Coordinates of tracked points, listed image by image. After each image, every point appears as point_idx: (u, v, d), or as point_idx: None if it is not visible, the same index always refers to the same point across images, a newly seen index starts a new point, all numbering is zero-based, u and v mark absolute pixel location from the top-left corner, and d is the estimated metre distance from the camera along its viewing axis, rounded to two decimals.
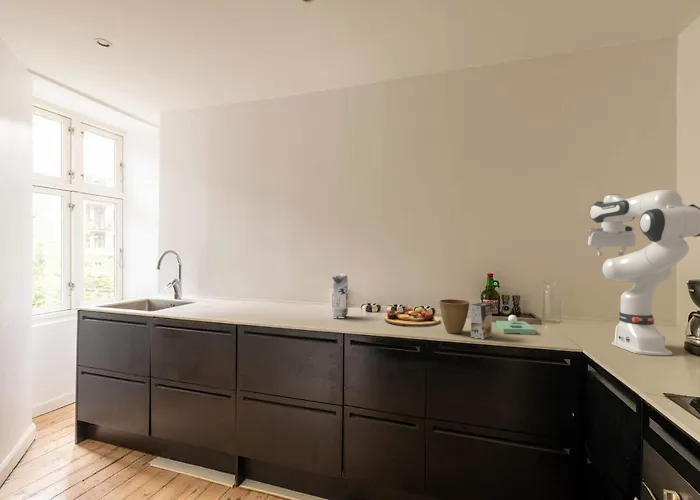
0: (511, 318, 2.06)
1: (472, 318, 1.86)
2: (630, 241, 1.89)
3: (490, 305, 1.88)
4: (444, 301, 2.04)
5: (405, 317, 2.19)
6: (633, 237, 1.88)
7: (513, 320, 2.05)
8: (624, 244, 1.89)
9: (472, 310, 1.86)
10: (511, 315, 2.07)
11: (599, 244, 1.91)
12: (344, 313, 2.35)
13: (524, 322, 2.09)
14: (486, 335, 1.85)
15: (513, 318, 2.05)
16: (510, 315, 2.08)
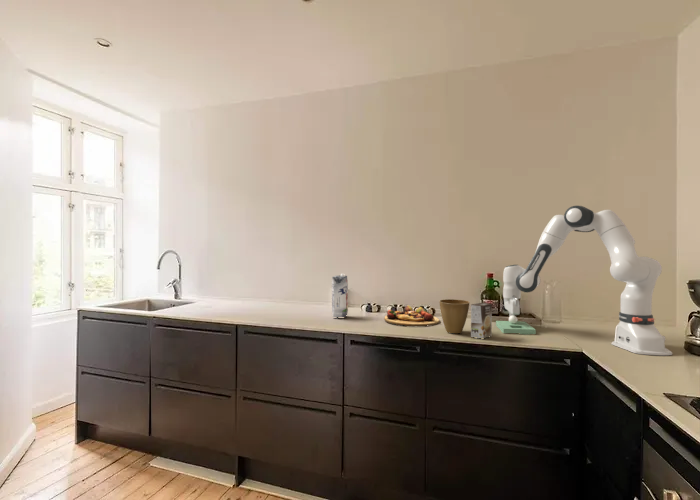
0: (511, 320, 2.04)
1: (472, 318, 1.86)
2: None
3: (490, 305, 1.88)
4: (444, 301, 2.04)
5: (405, 317, 2.19)
6: None
7: (513, 322, 2.05)
8: None
9: (472, 310, 1.86)
10: (512, 317, 2.05)
11: None
12: (344, 313, 2.35)
13: (524, 322, 2.09)
14: (486, 335, 1.85)
15: (514, 321, 2.04)
16: (511, 316, 2.05)
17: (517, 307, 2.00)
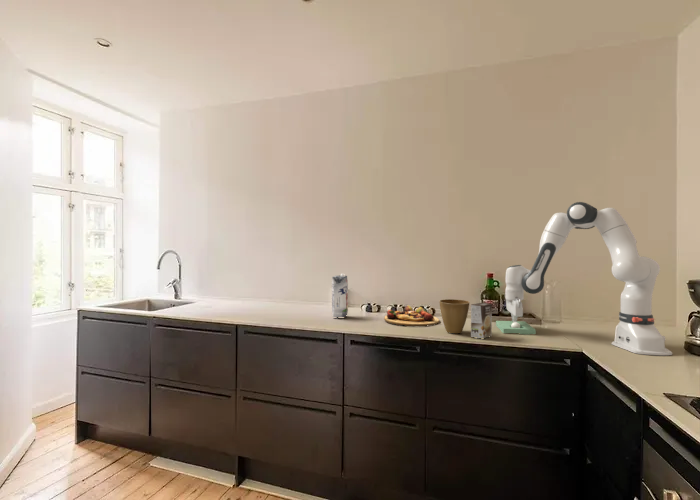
0: None
1: (472, 318, 1.86)
2: None
3: (490, 305, 1.88)
4: (444, 301, 2.04)
5: (405, 317, 2.19)
6: None
7: None
8: None
9: (472, 310, 1.86)
10: None
11: None
12: (344, 313, 2.35)
13: (524, 322, 2.09)
14: (486, 335, 1.85)
15: None
16: None
17: (520, 309, 1.94)
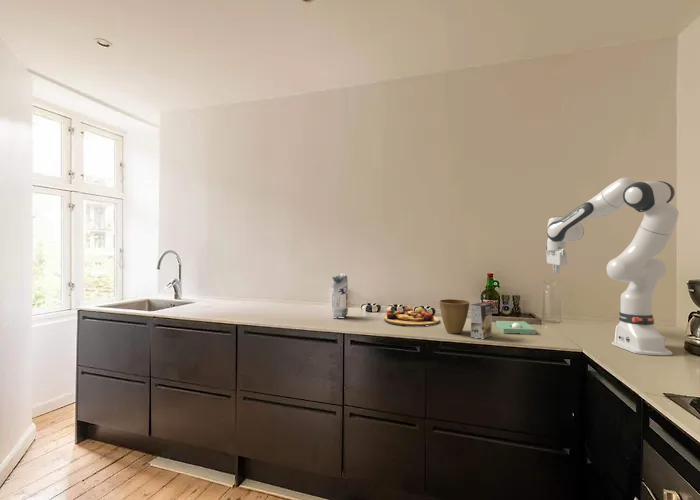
0: (514, 323, 1.99)
1: (472, 318, 1.86)
2: None
3: (490, 305, 1.88)
4: (444, 301, 2.04)
5: (404, 317, 2.19)
6: None
7: (516, 323, 1.97)
8: None
9: (472, 310, 1.86)
10: None
11: None
12: (344, 313, 2.35)
13: (524, 322, 2.09)
14: (486, 335, 1.85)
15: None
16: None
17: (564, 258, 1.95)
